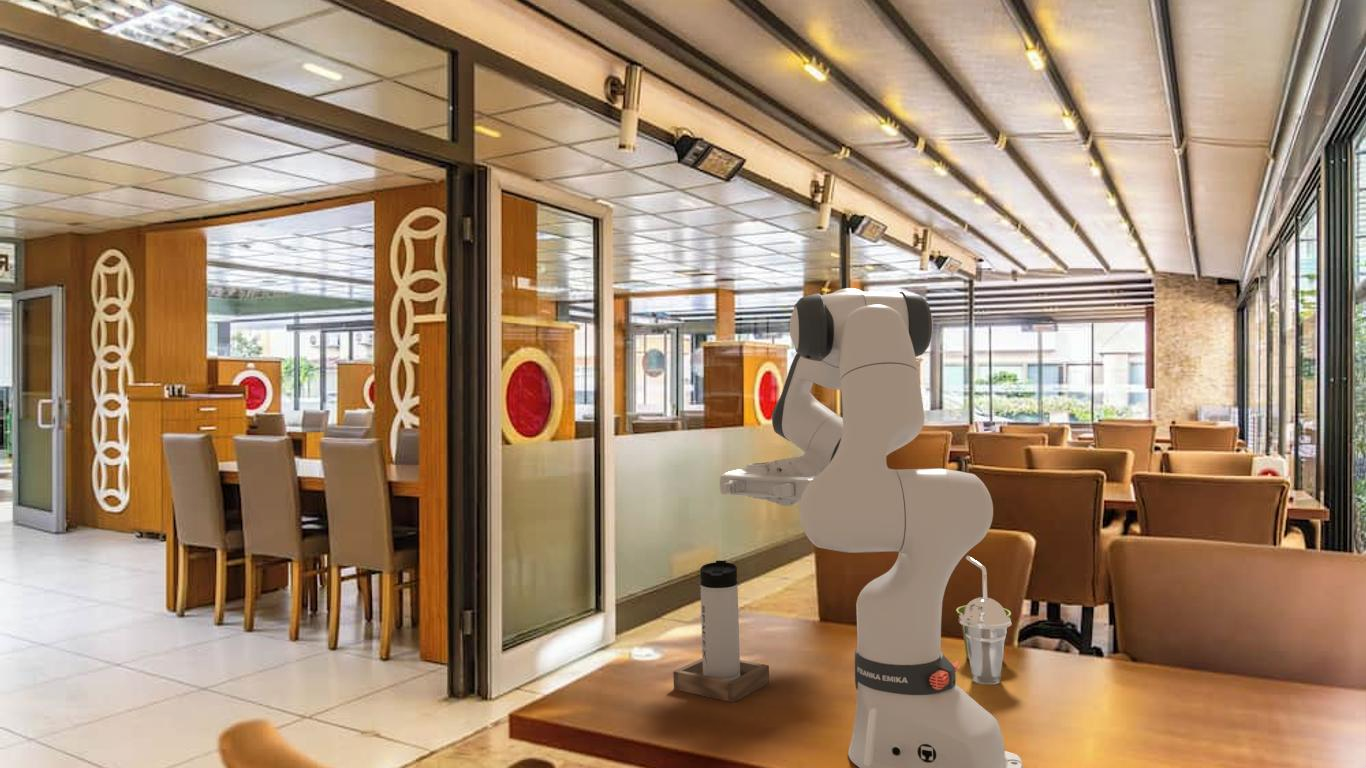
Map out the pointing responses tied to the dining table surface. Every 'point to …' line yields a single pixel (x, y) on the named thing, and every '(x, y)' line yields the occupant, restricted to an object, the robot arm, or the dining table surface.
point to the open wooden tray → (721, 681)
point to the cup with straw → (985, 634)
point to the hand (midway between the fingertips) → (749, 490)
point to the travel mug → (720, 620)
